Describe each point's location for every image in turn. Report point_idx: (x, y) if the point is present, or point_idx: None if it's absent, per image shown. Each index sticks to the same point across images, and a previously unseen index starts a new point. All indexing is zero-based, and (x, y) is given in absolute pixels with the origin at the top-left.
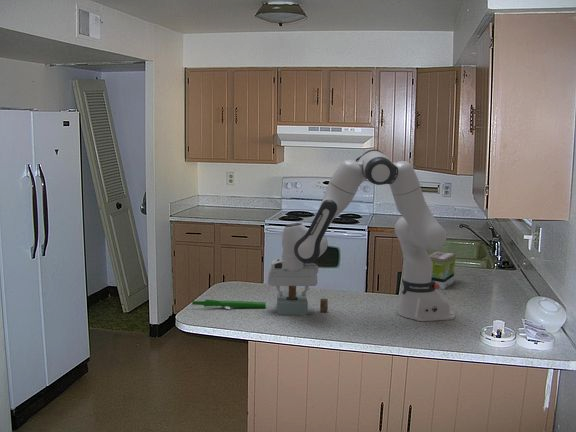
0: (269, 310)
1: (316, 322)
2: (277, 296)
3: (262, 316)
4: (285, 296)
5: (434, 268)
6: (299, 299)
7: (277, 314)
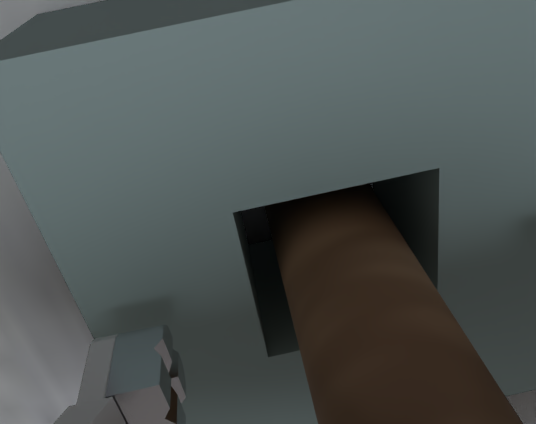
0: (17, 238)
1: (527, 401)
2: (41, 226)
3: (30, 409)
4: (204, 187)
5: None
6: (467, 281)
7: None
